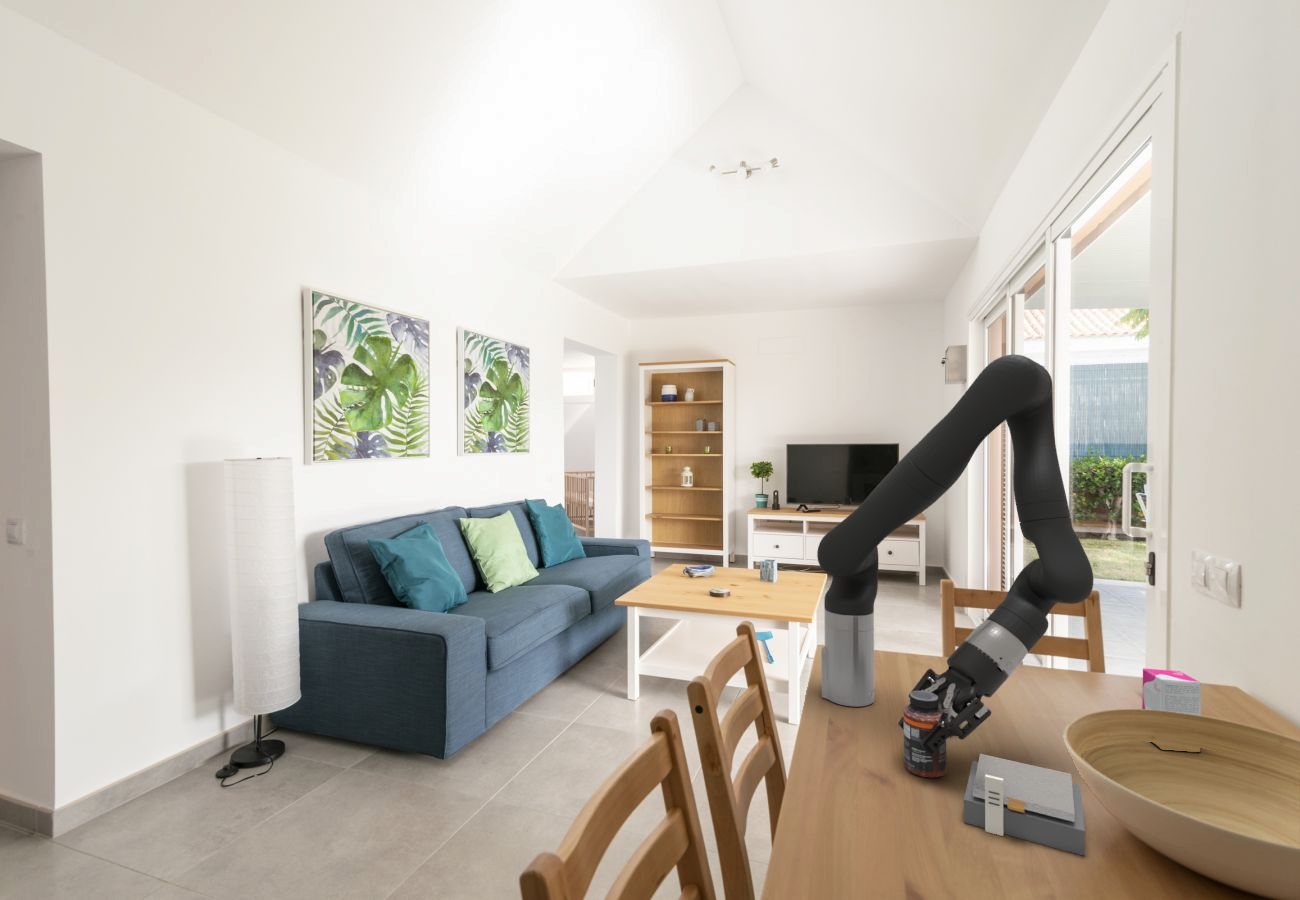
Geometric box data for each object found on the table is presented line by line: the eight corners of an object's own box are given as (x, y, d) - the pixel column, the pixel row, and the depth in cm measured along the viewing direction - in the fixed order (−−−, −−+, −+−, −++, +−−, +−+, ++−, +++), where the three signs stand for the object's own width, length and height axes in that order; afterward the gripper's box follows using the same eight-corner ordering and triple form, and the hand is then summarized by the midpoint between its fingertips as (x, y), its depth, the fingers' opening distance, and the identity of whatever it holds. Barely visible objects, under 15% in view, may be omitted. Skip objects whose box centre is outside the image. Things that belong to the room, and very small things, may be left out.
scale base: (963, 825, 82) (963, 771, 82) (972, 781, 92) (972, 733, 92) (1085, 859, 75) (1085, 800, 75) (1080, 807, 86) (1079, 755, 86)
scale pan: (971, 801, 81) (971, 794, 81) (980, 760, 91) (980, 753, 91) (1075, 828, 75) (1075, 820, 75) (1071, 781, 86) (1071, 774, 86)
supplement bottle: (944, 763, 98) (944, 690, 98) (948, 782, 92) (948, 705, 92) (902, 757, 100) (902, 685, 100) (904, 776, 94) (904, 700, 94)
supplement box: (1202, 754, 100) (1202, 682, 100) (1160, 750, 102) (1160, 679, 102) (1180, 737, 106) (1179, 669, 106) (1140, 734, 107) (1139, 667, 107)
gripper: (943, 627, 104) (875, 703, 103) (1001, 655, 89) (922, 744, 88) (974, 658, 104) (906, 734, 103) (1036, 691, 90) (958, 780, 89)
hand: (914, 738), depth 96 cm, fingers closed on supplement bottle, 6 cm apart
